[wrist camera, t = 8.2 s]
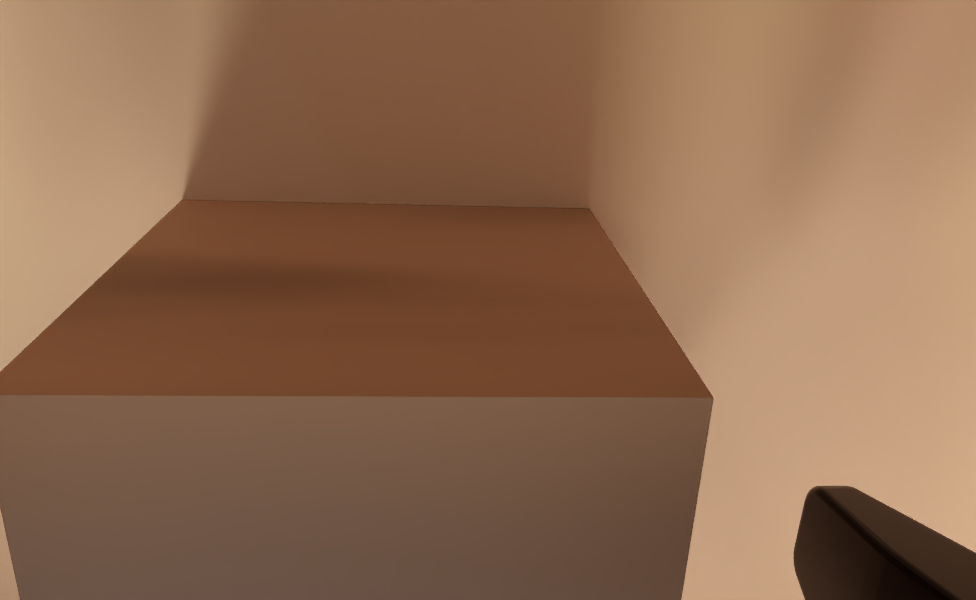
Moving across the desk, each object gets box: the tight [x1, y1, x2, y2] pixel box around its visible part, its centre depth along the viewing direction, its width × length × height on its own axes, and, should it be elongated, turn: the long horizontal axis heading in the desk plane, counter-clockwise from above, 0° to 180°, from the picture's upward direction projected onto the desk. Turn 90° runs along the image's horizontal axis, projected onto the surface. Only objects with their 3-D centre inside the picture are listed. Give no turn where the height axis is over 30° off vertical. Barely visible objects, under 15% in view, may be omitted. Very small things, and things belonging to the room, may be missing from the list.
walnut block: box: [0, 200, 713, 600], centre depth 9 cm, size 5×5×5 cm
